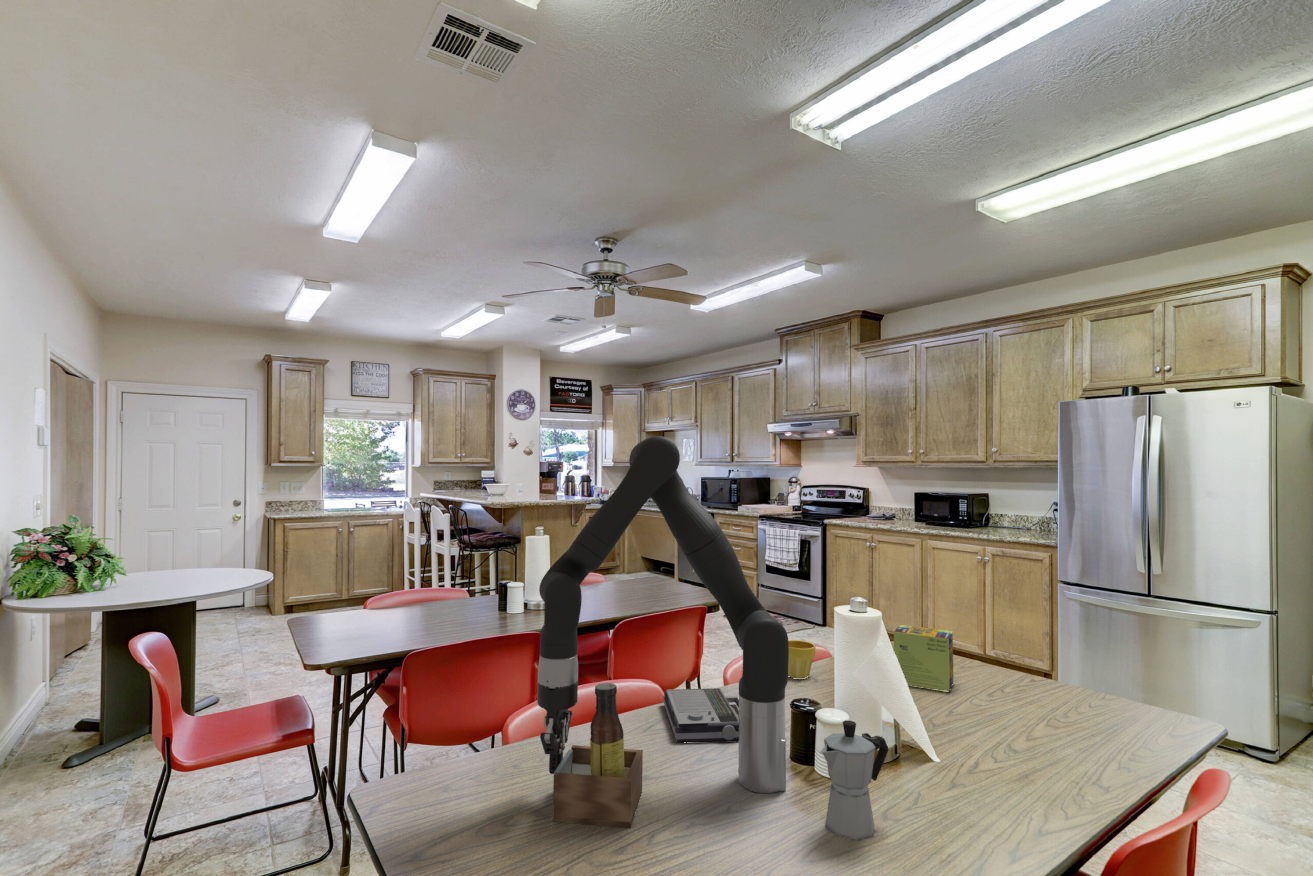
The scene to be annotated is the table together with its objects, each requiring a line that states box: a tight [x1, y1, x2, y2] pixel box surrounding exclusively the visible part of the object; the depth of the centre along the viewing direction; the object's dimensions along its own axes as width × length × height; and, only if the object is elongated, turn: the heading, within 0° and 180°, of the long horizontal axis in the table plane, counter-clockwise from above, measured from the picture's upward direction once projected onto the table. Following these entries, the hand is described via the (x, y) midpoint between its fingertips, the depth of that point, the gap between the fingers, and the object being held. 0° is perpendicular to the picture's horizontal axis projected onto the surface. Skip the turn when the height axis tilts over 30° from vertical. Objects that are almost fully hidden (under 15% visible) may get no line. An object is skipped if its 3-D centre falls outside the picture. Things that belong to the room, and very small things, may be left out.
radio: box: [662, 687, 739, 744], centre depth 159 cm, size 24×5×20 cm
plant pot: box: [788, 639, 816, 679], centre depth 196 cm, size 10×10×10 cm
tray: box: [553, 748, 630, 778], centre depth 119 cm, size 13×10×6 cm
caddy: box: [552, 744, 644, 829], centre depth 119 cm, size 14×13×8 cm
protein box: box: [893, 624, 955, 692], centre depth 190 cm, size 10×15×16 cm
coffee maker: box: [819, 719, 889, 841], centre depth 114 cm, size 15×9×18 cm, turn 114°
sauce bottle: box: [589, 682, 625, 778], centre depth 120 cm, size 7×6×20 cm
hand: (555, 772), depth 121 cm, fingers closed
